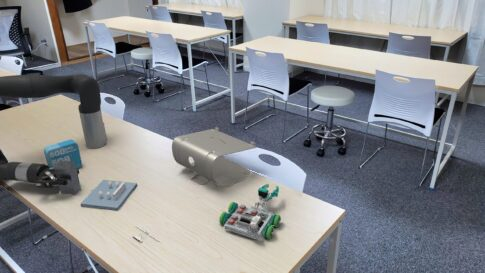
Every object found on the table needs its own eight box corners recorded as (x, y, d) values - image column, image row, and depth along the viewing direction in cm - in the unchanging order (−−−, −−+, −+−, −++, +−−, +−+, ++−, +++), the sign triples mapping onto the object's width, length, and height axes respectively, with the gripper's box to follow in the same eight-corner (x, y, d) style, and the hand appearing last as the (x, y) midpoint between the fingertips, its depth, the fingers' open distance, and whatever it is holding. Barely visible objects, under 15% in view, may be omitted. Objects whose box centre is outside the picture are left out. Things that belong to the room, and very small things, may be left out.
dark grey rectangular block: (66, 187, 143) (60, 160, 138) (81, 189, 142) (75, 161, 137) (60, 193, 139) (53, 165, 134) (75, 195, 139) (68, 167, 133)
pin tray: (103, 182, 146) (102, 174, 145) (137, 185, 144) (136, 177, 143) (81, 206, 132) (79, 197, 131) (117, 210, 130) (116, 201, 128)
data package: (53, 177, 150) (46, 151, 145) (49, 173, 153) (42, 147, 148) (82, 167, 157) (77, 141, 152) (78, 163, 160) (73, 138, 155)
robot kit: (293, 204, 134) (294, 182, 130) (266, 248, 114) (267, 224, 110) (246, 191, 141) (246, 170, 137) (213, 231, 121) (212, 207, 117)
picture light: (162, 243, 116) (161, 238, 115) (151, 251, 113) (150, 246, 112) (134, 225, 124) (133, 220, 123) (123, 232, 121) (122, 227, 120)
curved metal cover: (172, 172, 153) (169, 138, 147) (214, 152, 169) (213, 121, 162) (215, 196, 138) (213, 160, 131) (257, 172, 153) (257, 138, 147)
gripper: (16, 174, 132) (58, 178, 130) (42, 155, 145) (81, 158, 142) (21, 191, 135) (63, 196, 133) (47, 171, 148) (85, 175, 146)
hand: (72, 177), depth 138 cm, fingers open, 7 cm apart
